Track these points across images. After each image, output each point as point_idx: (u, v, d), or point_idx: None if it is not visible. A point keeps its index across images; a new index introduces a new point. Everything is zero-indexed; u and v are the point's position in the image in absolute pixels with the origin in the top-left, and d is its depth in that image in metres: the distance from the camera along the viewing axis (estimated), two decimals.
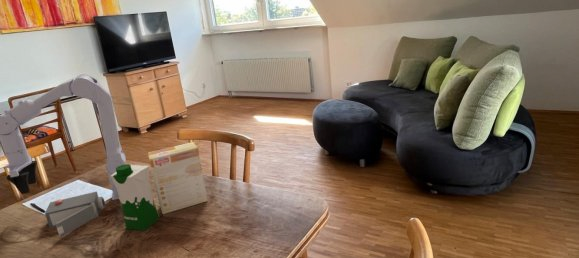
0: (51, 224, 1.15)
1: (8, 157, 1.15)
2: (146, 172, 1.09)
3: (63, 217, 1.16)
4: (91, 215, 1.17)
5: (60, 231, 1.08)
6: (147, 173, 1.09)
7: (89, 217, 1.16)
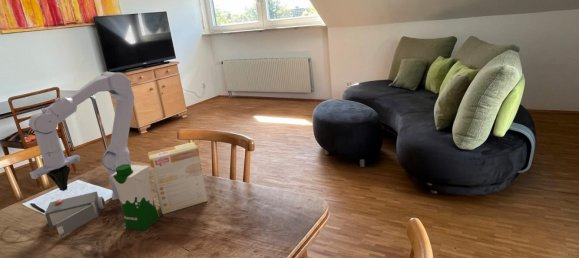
0: (51, 224, 1.15)
1: None
2: (146, 172, 1.09)
3: (63, 217, 1.16)
4: (91, 215, 1.17)
5: (60, 231, 1.08)
6: (147, 173, 1.09)
7: (89, 217, 1.16)
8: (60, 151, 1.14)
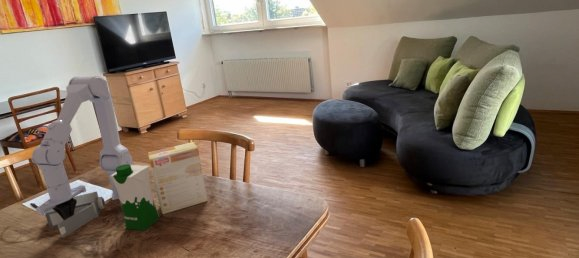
0: (51, 224, 1.15)
1: None
2: (146, 172, 1.09)
3: None
4: (92, 215, 1.17)
5: (62, 231, 1.08)
6: (147, 173, 1.09)
7: (89, 217, 1.16)
8: (67, 183, 1.09)
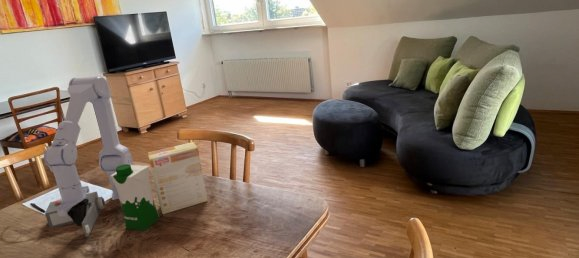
0: (51, 224, 1.15)
1: (60, 192, 1.05)
2: (146, 172, 1.09)
3: (63, 217, 1.16)
4: (95, 215, 1.17)
5: (88, 229, 1.07)
6: (147, 173, 1.09)
7: (94, 216, 1.16)
8: (80, 182, 1.08)
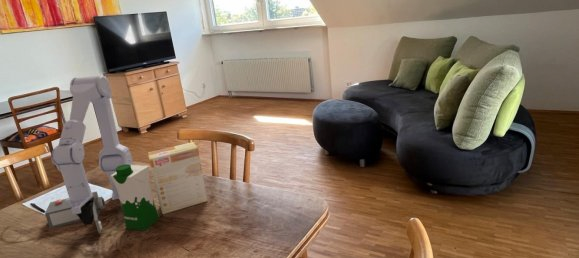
0: (51, 224, 1.15)
1: (69, 191, 1.05)
2: (146, 172, 1.09)
3: (63, 217, 1.16)
4: (97, 214, 1.17)
5: (101, 225, 1.09)
6: (147, 173, 1.09)
7: (97, 215, 1.17)
8: None
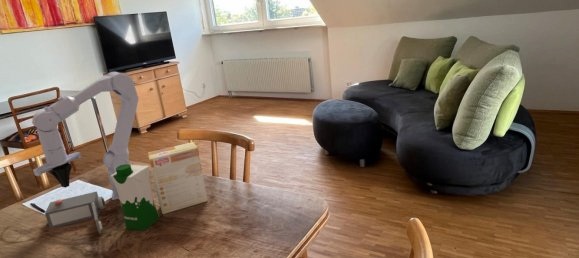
0: (51, 224, 1.15)
1: (44, 154, 1.16)
2: (146, 172, 1.09)
3: (63, 217, 1.16)
4: (97, 214, 1.17)
5: (101, 225, 1.09)
6: (147, 173, 1.09)
7: (97, 215, 1.17)
8: (62, 148, 1.17)
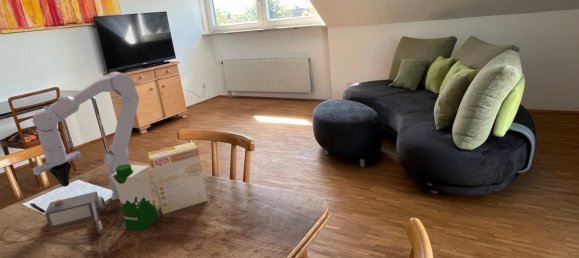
0: (51, 224, 1.15)
1: None
2: (146, 172, 1.09)
3: (63, 217, 1.16)
4: (97, 214, 1.17)
5: (101, 225, 1.09)
6: (147, 173, 1.09)
7: (97, 215, 1.17)
8: (62, 148, 1.17)
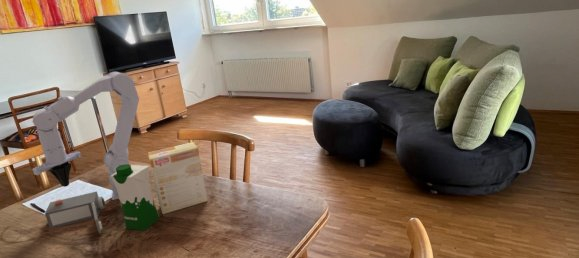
0: (51, 224, 1.15)
1: None
2: (146, 172, 1.09)
3: (63, 217, 1.16)
4: (97, 214, 1.17)
5: (101, 225, 1.09)
6: (147, 173, 1.09)
7: (97, 215, 1.17)
8: (62, 148, 1.17)
